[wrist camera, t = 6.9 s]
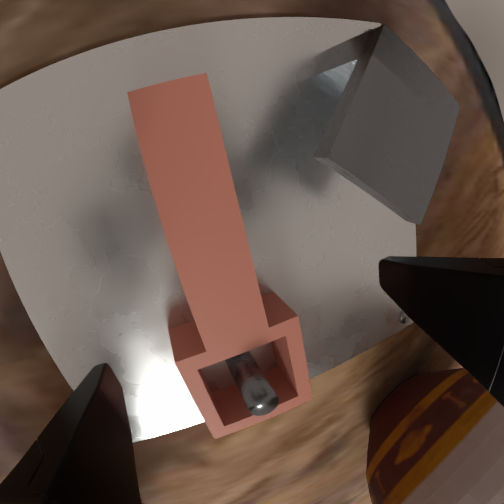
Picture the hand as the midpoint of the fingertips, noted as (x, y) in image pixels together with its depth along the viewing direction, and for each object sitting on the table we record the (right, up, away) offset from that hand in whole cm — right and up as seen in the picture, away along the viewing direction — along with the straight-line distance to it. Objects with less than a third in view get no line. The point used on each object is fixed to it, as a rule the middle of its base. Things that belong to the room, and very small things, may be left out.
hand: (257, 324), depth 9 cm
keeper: (+5, +9, +7) cm, 12 cm away
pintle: (-1, -4, +9) cm, 10 cm away
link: (-2, +1, +7) cm, 7 cm away
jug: (+14, -14, +18) cm, 27 cm away
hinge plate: (-1, +3, +7) cm, 8 cm away
